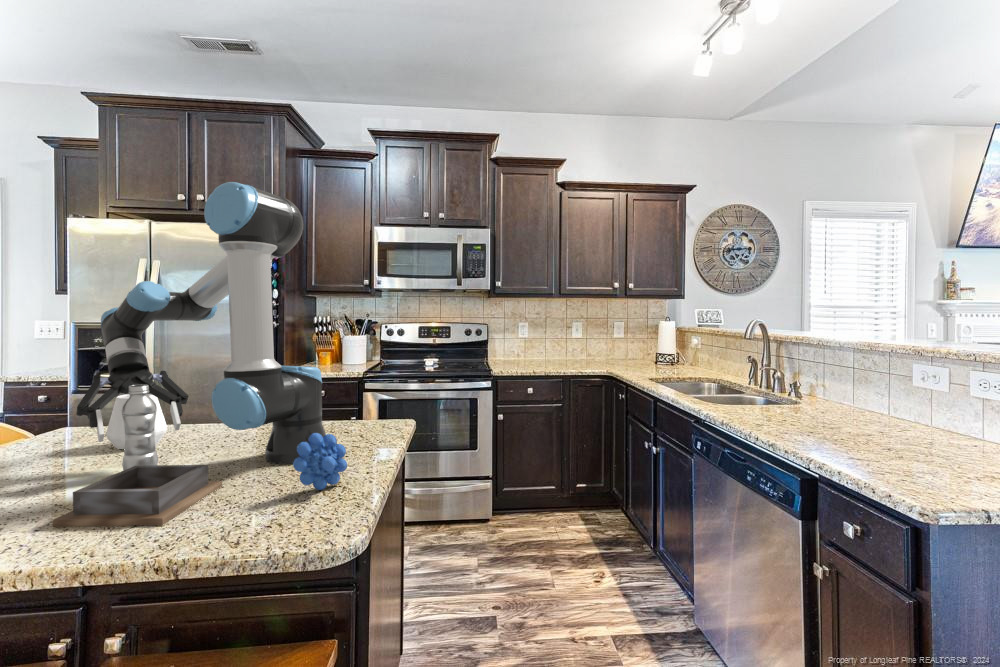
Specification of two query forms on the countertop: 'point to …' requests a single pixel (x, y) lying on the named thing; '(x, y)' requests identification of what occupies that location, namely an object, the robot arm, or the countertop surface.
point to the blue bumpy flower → (320, 461)
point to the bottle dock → (139, 496)
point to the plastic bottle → (139, 428)
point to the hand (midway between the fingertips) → (141, 432)
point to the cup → (117, 426)
